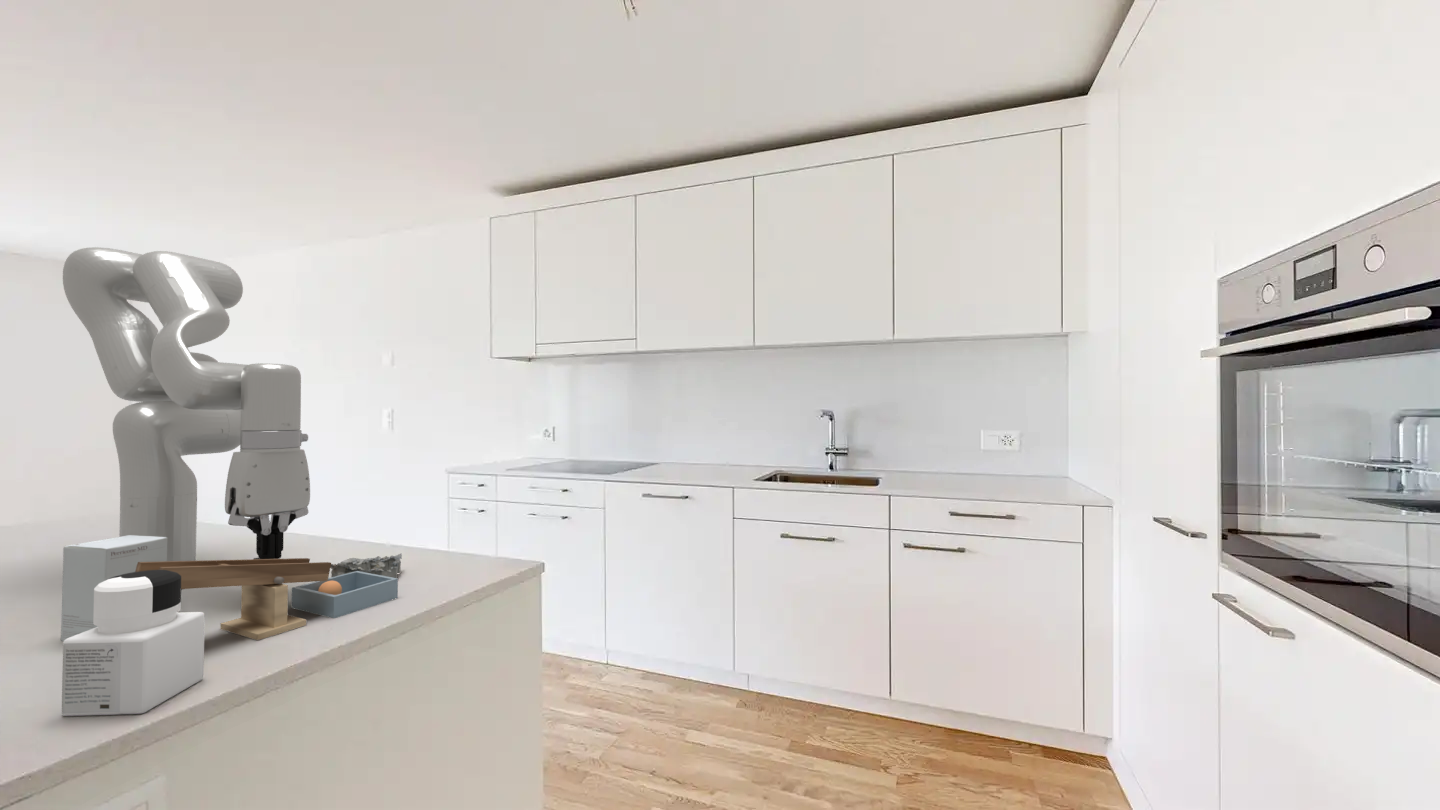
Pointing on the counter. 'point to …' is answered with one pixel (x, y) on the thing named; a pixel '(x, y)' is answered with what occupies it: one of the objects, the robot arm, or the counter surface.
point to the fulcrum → (263, 612)
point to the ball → (331, 588)
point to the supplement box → (100, 573)
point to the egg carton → (369, 566)
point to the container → (133, 647)
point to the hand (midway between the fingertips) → (269, 558)
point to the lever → (241, 571)
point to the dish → (345, 594)
